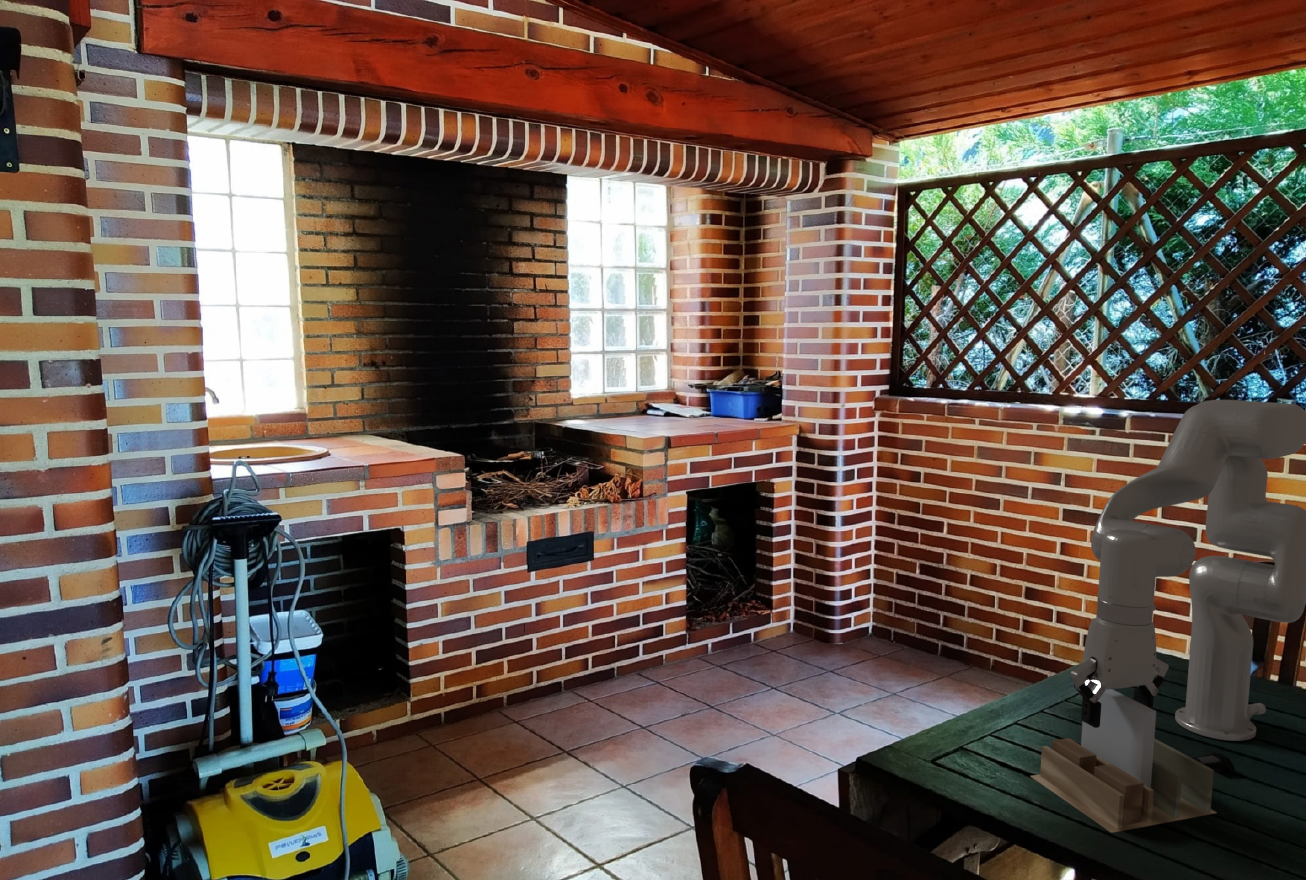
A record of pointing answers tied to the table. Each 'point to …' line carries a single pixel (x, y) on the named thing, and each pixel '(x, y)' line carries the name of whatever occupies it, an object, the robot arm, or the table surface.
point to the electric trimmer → (1216, 762)
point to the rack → (1171, 797)
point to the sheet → (1123, 735)
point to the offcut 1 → (1075, 754)
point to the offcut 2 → (1124, 790)
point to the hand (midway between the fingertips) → (1116, 720)
